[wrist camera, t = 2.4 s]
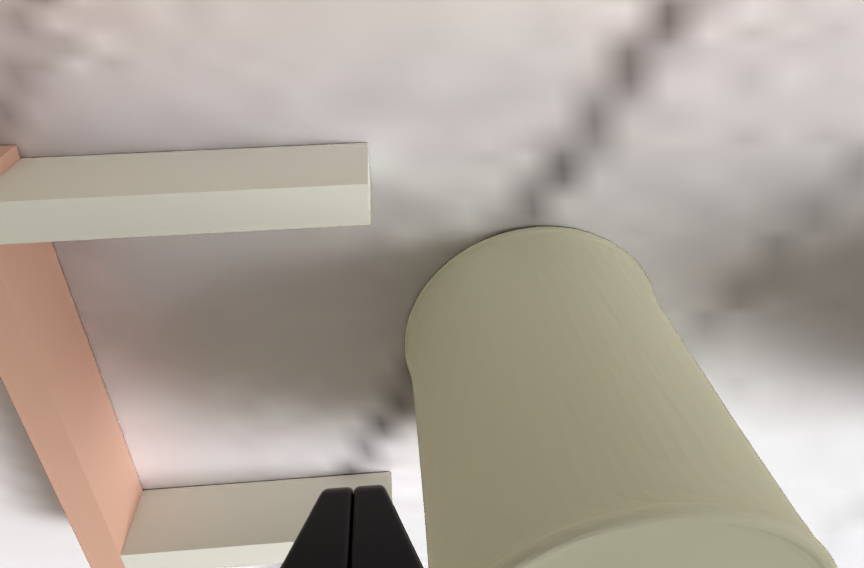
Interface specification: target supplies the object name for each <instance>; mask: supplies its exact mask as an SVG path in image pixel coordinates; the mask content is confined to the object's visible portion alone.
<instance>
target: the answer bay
mask: <svg viewBox="0 0 864 568" xmlns="http://www.w3.org/2000/svg"><path fill="white" fill-rule="evenodd" d="M360 225H371V193H370V168H369V154H368V143H348V144H326V145H304V146H282V147H259V148H237V149H215V150H193V151H171V152H149V153H126V154H104V155H82V156H60V157H38V158H21V157H20V155H19V152H18V149H17V147H16V145H6V146H0V377H1V379H2V381H3V384H4V386H5V388H6V390H7V392H8V394H9V396H10V398H11V400H12V402H13V405H14V407H15V409H16V411H17V413H18V415H19V417H20V419H21V421H22V424H23V426H24V428H25V430H26V432H27V434H28V436H29V438H30V440H31V443H32V445H33V447H34V449H35V451H36V453H37V455H38V457H39V459H40V461H41V464H42V466H43V468H44V470H45V472H46V474H47V476H48V478H49V480H50V483H51V485H52V487H53V489H54V491H55V493H56V495H57V497H58V499H59V502H60V504H61V506H62V508H63V510H64V512H65V514H66V516H67V518H68V520H69V523H70V525H71V527H72V529H73V531H74V533H75V535H76V537H77V539H78V542H79V544H80V546H81V548H82V550H83V552H84V554H85V556H86V558H87V561H88V563H89V565H90V567H91V568H226V567H238V566H250V565H263V564H275V563H283V562H284V560H285V558H286V556H287V554H288V552H289V551H290V549H291V547H292V545H293V543H294V541H295V540H296V538H297V536H298V534H299V532H300V530H301V529H302V527H303V525H304V523H305V521H306V519H307V517H308V516H309V514H310V512H311V510H312V508H313V506H314V505H315V503H316V501H317V499H318V497H319V495H320V494H321V492H322V491H323V490H325V489H327V488H340V487H350V488H352V489H353V491H354V490H355V488H356V487H358V486H368V485H382V486H384V488H385V489H386V491H387V493H388V495H389V497H390V499H391V501H392V503H393V491H392V477H391V472H381V473H368V474H355V475H341V476H328V477H315V478H301V479H288V480H275V481H261V482H248V483H235V484H221V485H208V486H195V487H181V488H168V489H155V490H143V488H142V486H141V483H140V480H139V478H138V475H137V472H136V469H135V467H134V464H133V461H132V459H131V456H130V453H129V450H128V448H127V445H126V442H125V440H124V437H123V434H122V431H121V429H120V426H119V423H118V421H117V418H116V415H115V412H114V410H113V407H112V404H111V402H110V399H109V396H108V393H107V391H106V388H105V385H104V383H103V380H102V377H101V374H100V372H99V369H98V366H97V364H96V361H95V358H94V355H93V353H92V350H91V347H90V345H89V342H88V339H87V336H86V334H85V331H84V328H83V326H82V323H81V320H80V318H79V315H78V312H77V309H76V307H75V304H74V301H73V299H72V296H71V293H70V290H69V288H68V285H67V282H66V280H65V277H64V274H63V271H62V269H61V266H60V263H59V261H58V258H57V255H56V252H55V250H54V247H53V244H52V242H56V241H75V240H94V239H113V238H132V237H151V236H170V235H189V234H208V233H227V232H246V231H265V230H284V229H303V228H322V227H341V226H360Z"/></svg>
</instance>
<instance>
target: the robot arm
mask: <svg viewBox="0 0 864 568" xmlns="http://www.w3.org/2000/svg"><path fill="white" fill-rule="evenodd" d="M280 568H423V566H422V564H421V562H420V559H419V557H418V555H417V553H416V551H415V549H414V547H413V545H412V543H411V541H410V539H409V536H408V534H407V532H406V530H405V528H404V526H403V524H402V522H401V520H400V518H399V516H398V514H397V511H396V509H395V507H394V505H393V503H392V501H391V499H390V497H389V495H388V493H387V491H386V489H385V488H384V486H382V485H368V486H358V487H356V488H355V490H354V491H353V489H352V488H350V487H340V488H327V489H325V490H323V491H322V492H321V494H320V495H319V497H318V499H317V501H316V503H315V505H314V506H313V508H312V510H311V512H310V514H309V516H308V517H307V519H306V521H305V523H304V525H303V527H302V529H301V530H300V532H299V534H298V536H297V538H296V540H295V541H294V543H293V545H292V547H291V549H290V551H289V552H288V554H287V556H286V558H285V560H284V562H283V564H282V565H281V567H280Z"/></svg>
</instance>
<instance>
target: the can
mask: <svg viewBox="0 0 864 568" xmlns="http://www.w3.org/2000/svg"><path fill="white" fill-rule="evenodd" d="M405 357H406V362H407V366H408V370H409V373H410V375H411V378H412V385H413V394H414V403H415V412H416V422H417V434H418V445H419V456H420V468H421V479H422V490H423V502H424V513H425V526H426V539H427V553H428V566H429V568H837V565H836V563H835V561H834V560H833V558H832V556H831V555H830V554H829V552H828V551H827V550H826V548H825V547H824V546H823V545H822V544H821V543H820V542H819V541H818V540H817V539H816V538H815V537H814V535H813V534H812V532H811V531H810V530H809V528H808V527H807V526H806V524H805V523H804V521H803V520H802V519H801V517H800V516H799V514H798V513H797V512H796V510H795V509H794V507H793V506H792V504H791V503H790V501H789V500H788V499H787V497H786V496H785V494H784V493H783V491H782V490H781V488H780V487H779V485H778V484H777V482H776V481H775V479H774V478H773V476H772V475H771V473H770V472H769V471H768V469H767V468H766V466H765V465H764V463H763V462H762V460H761V459H760V457H759V456H758V454H757V453H756V451H755V450H754V448H753V447H752V445H751V444H750V443H749V441H748V440H747V438H746V437H745V435H744V434H743V432H742V431H741V429H740V428H739V426H738V425H737V423H736V422H735V420H734V419H733V417H732V416H731V414H730V413H729V411H728V410H727V408H726V406H725V405H724V403H723V402H722V400H721V399H720V397H719V396H718V394H717V393H716V391H715V390H714V388H713V387H712V385H711V384H710V382H709V381H708V379H707V377H706V376H705V374H704V373H703V371H702V370H701V368H700V367H699V365H698V364H697V362H696V361H695V359H694V358H693V356H692V355H691V353H690V352H689V350H688V348H687V347H686V345H685V344H684V342H683V341H682V339H681V338H680V336H679V335H678V333H677V332H676V330H675V328H674V327H673V325H672V324H671V322H670V321H669V319H668V318H667V316H666V314H665V313H664V311H663V309H662V308H661V306H660V304H659V303H658V301H657V299H656V297H655V294H654V290H653V288H652V286H651V283H650V281H649V279H648V277H647V276H646V274H645V273H644V271H643V270H642V268H641V267H640V266H639V265H638V263H637V262H636V261H635V260H634V259H633V258H632V257H631V256H630V255H629V254H628V253H627V252H625V251H624V250H623V249H621V248H620V247H618V246H617V245H616V244H614V243H612V242H610V241H608V240H606V239H604V238H602V237H600V236H597V235H595V234H592V233H589V232H585V231H581V230H577V229H572V228H564V227H532V228H524V229H517V230H513V231H509V232H505V233H501V234H498V235H496V236H493V237H490V238H487V239H485V240H483V241H481V242H478V243H476V244H474V245H473V246H471V247H469V248H467V249H466V250H464V251H462V252H461V253H459V254H458V255H456V256H455V257H454V258H452V259H451V260H449V261H448V262H447V263H446V264H445V265H444V266H443V267H442V268H441V269H440V270H438V271H437V272H436V273H435V274H434V276H433V277H432V278H431V279H430V280H429V281H428V283H427V284H426V285H425V287H424V288H423V289H422V291H421V293H420V294H419V296H418V297H417V299H416V301H415V303H414V306H413V308H412V310H411V313H410V315H409V319H408V322H407V327H406V332H405Z"/></svg>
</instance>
